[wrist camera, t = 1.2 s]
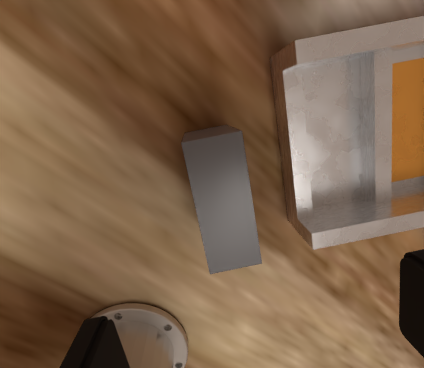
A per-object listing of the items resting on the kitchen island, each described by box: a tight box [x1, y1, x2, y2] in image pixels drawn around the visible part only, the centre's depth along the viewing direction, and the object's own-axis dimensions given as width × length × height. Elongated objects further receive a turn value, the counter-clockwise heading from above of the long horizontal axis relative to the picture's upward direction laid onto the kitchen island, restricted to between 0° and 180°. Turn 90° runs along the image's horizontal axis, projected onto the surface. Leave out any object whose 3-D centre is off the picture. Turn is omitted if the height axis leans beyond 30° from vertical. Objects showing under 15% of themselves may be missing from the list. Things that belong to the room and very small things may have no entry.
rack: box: [270, 16, 424, 250], centre depth 23 cm, size 16×16×6 cm
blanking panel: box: [181, 125, 262, 274], centre depth 22 cm, size 10×4×8 cm, turn 11°
